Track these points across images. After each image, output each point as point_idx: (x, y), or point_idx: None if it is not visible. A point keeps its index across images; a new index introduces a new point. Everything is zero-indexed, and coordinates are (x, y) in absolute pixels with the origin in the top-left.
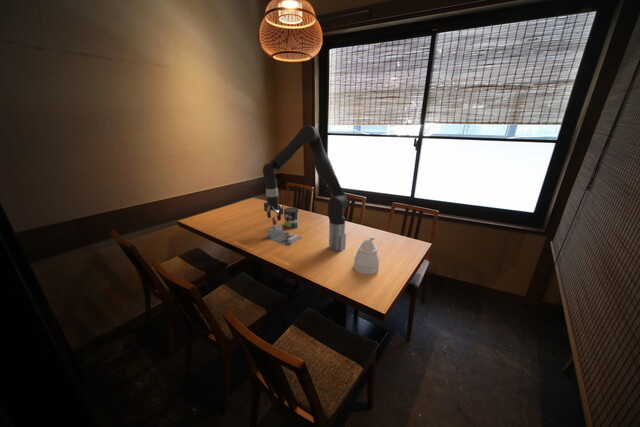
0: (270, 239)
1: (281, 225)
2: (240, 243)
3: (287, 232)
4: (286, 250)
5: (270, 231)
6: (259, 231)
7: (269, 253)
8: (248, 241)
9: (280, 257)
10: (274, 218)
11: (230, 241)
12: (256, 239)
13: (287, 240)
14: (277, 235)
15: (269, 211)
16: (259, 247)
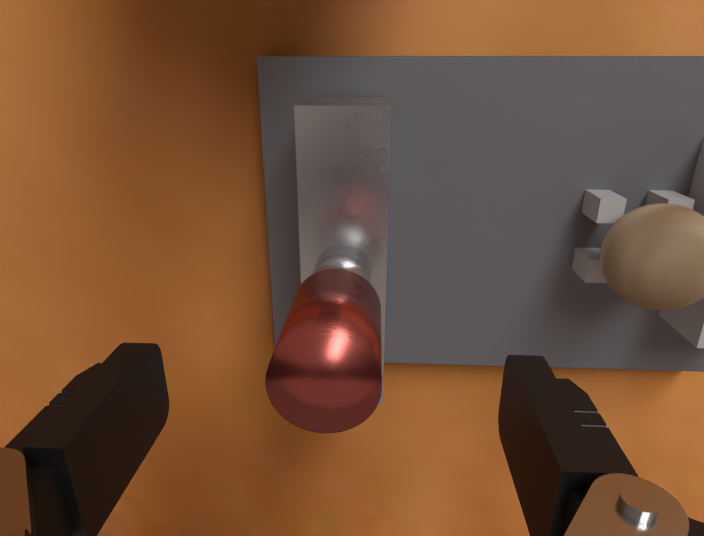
0: (387, 352)
1: (371, 106)
2: (156, 507)
3: (671, 289)
4: (691, 397)
5: (380, 402)
6: (27, 200)
7: None
8: (179, 448)
9: (701, 514)
10: (336, 389)
11: None
12: (205, 379)
13: None
14: None
15: (36, 514)
16: (380, 479)
